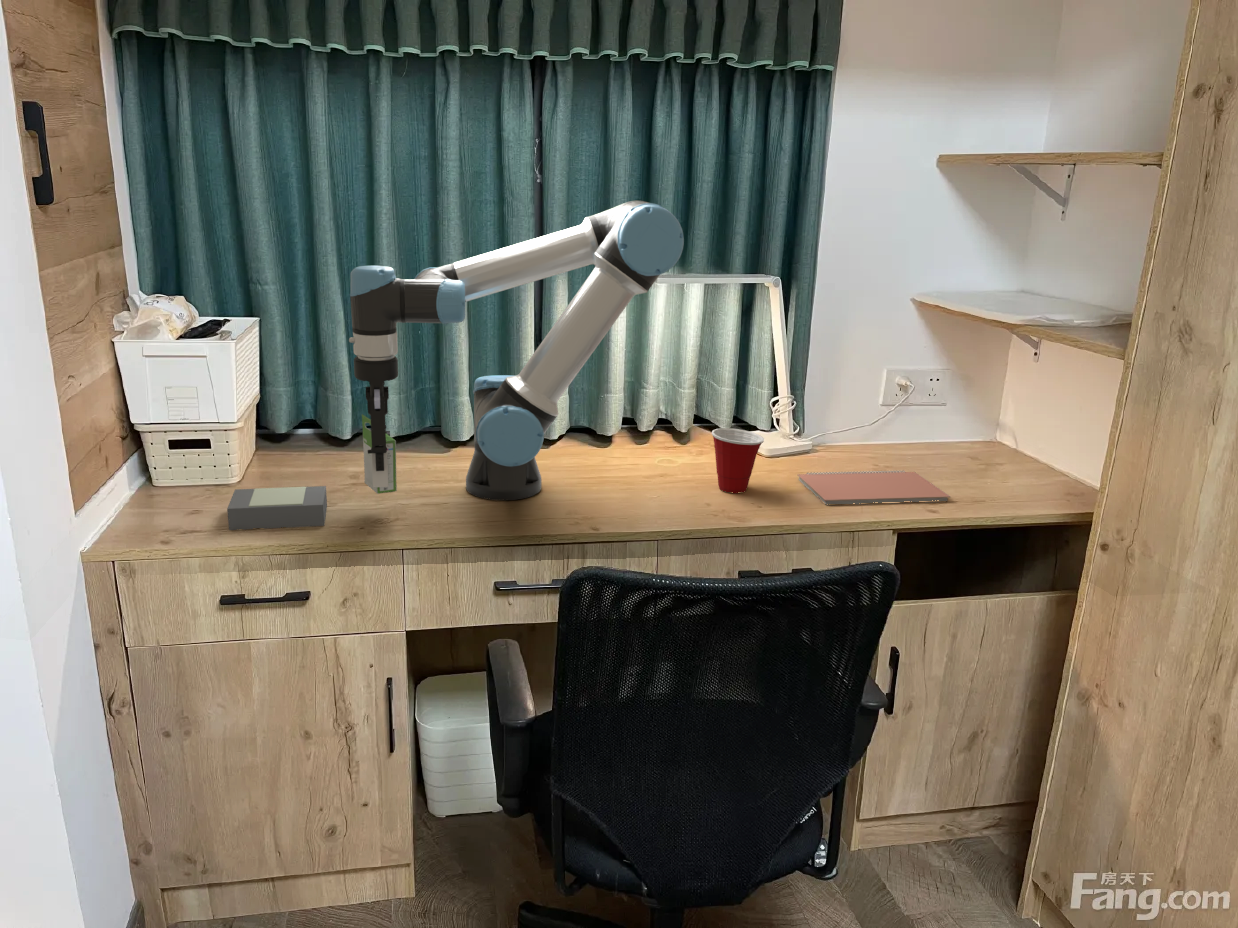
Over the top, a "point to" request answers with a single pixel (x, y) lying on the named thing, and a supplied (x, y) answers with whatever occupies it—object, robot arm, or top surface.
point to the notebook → (871, 487)
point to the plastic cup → (735, 457)
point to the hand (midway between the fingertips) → (380, 478)
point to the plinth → (277, 507)
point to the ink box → (368, 460)
